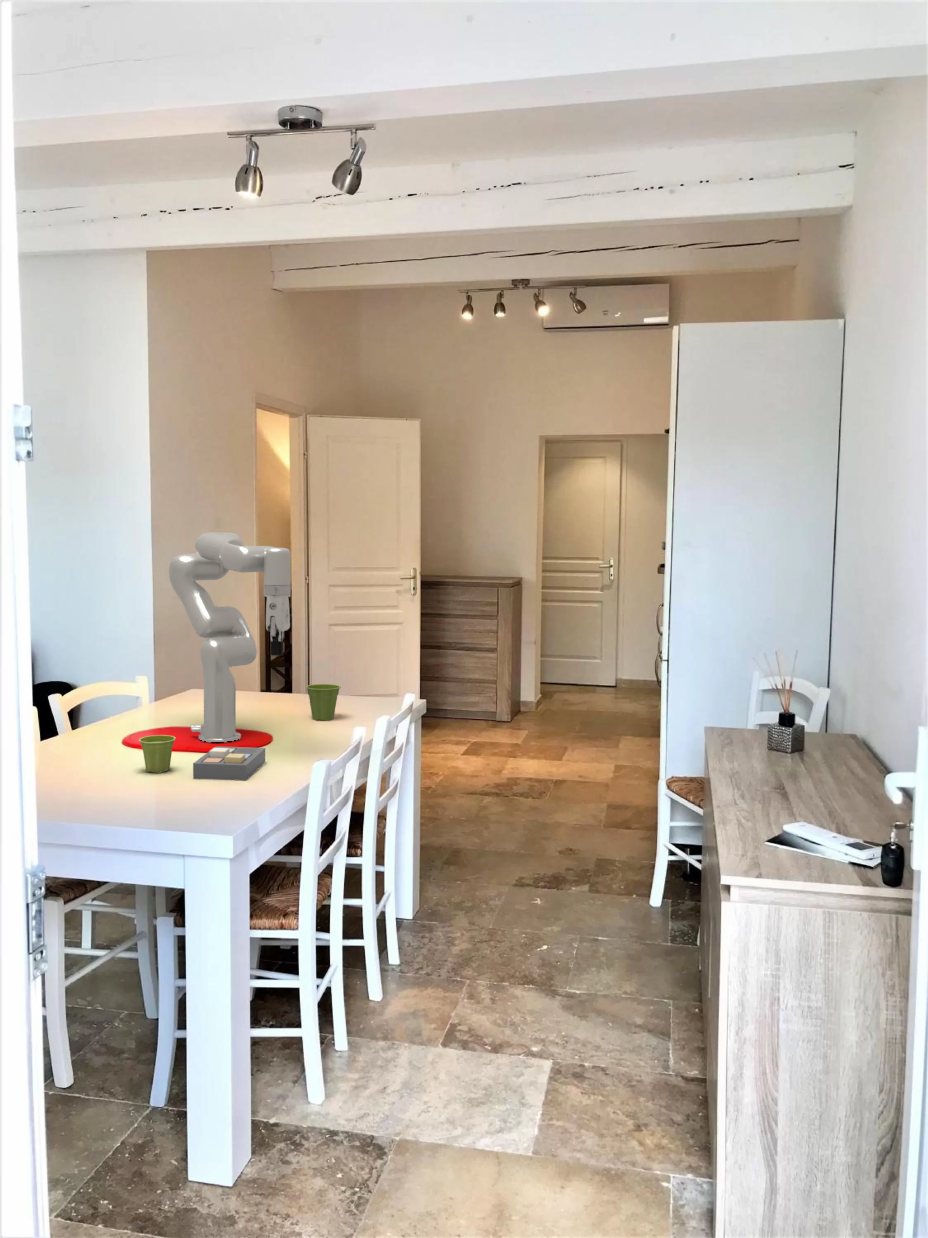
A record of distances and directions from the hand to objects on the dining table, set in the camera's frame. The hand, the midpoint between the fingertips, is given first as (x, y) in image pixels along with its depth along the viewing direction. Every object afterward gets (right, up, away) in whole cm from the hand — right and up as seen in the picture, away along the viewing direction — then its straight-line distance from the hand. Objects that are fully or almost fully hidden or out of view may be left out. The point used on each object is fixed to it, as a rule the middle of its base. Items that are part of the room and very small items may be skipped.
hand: (276, 655), depth 291 cm
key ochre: (-7, -29, -22) cm, 37 cm away
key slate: (-7, -30, -16) cm, 34 cm away
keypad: (-10, -31, -16) cm, 36 cm away
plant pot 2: (+5, -24, +56) cm, 62 cm away
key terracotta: (-13, -30, -22) cm, 39 cm away
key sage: (-12, -29, -10) cm, 33 cm away
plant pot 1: (-29, -31, -17) cm, 46 cm away
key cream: (-13, -28, -16) cm, 34 cm away
